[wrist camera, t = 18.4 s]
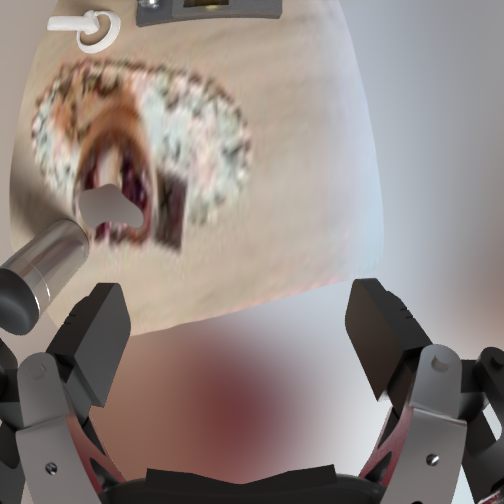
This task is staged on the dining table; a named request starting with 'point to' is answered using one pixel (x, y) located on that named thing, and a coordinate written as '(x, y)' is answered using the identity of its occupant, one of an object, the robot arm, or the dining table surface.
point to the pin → (207, 2)
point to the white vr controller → (87, 28)
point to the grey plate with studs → (204, 10)
